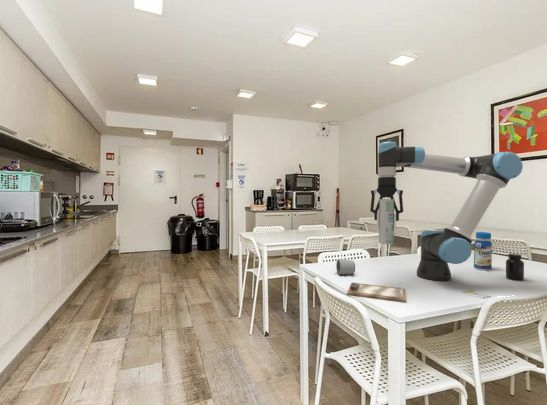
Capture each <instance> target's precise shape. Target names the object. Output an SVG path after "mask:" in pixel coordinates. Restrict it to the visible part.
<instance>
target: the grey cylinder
mask: <svg viewBox="0 0 547 405" xmlns="http://www.w3.org/2000/svg"><path fill="white" fill-rule="evenodd" d="M355 272H356V263H355V261H354V260H351V259H342V258H339V259H337V261H336V274H337V275H347V276H348V275H354V274H355Z"/></svg>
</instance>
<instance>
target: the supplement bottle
mask: <svg viewBox="0 0 547 405" xmlns="http://www.w3.org/2000/svg"><path fill="white" fill-rule="evenodd" d="M505 278H506V279H507V280H510V281H517V282H521V281H524V279H525V261H523V260H522V254H519V253H508V258H507V259H506V261H505Z"/></svg>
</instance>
